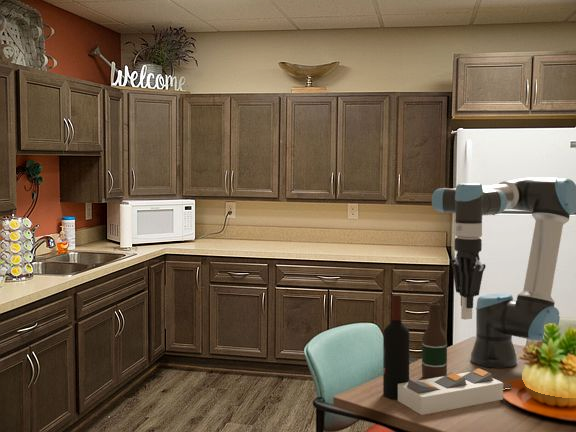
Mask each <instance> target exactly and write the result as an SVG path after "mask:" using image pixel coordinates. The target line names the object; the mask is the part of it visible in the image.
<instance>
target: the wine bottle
mask: <svg viewBox="0 0 576 432" xmlns="http://www.w3.org/2000/svg"><path fill="white" fill-rule="evenodd" d="M390 298H391V319H390V320H391V322H390V323H388V324H387V325H386V326H385V327H384V329H383V335H382V336H383V337H382V339H383V340H382V341H383V345H382V347H383V350H382V351H383V353H382V354H383V359H382V360H383V361H382V363H383V364H382V365H383V367H382V368H383V369H382V371H383V374H382V376H383V377H382V379H383V382H382V384H383V385H382V387H383V390H382V391H383V392H382V393H383V394H382V395H383V397H384V398H387V399H389V400H394V401H398V384H400V383H406V382H408V381H409V379H410V330H409V328H408V327H407V326H406V325H405V324H404V323H403V322H402V295H401V294H395V293H394V294H391V297H390Z"/></svg>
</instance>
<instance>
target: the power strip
mask: <svg viewBox="0 0 576 432" xmlns="http://www.w3.org/2000/svg"><path fill="white" fill-rule="evenodd" d="M470 372H471V371H469V372H468V371H467V372H461V373H456V374H457V375H459V376H461V377H462V376H464V375H466V374H468V373H470ZM442 377H444V376H442ZM442 377H436V378H430V379H425V378H424V379H420V380H417V381H420V382H426V383H429V384H431V385H433V386H435V387H437V389H439V390H437V391H431V392H425V393H418V392H416V391H414V390H412V389H410V388H408V387H407V385H408V382H406V383H400V384H398V400H397V402H399V403H400V404H401V405H402V404H403V405H404V406H405V407H408V408H409V409H411V411H412V410H413V411H414V412H416V413H417V414H419V415H421V416H424V415H431V414H434V413H441V412H446V411H450V410H455V409H461V408H465V407H472V406H477V405H482V404H488V403H491V402H492V403H493V402H498V401H502V400H504V391H503V389H505V388H511V387H512V388H513V386H512V384H506V385H505V384H504V382H502V381H500V380H498V379H496V378H493V377H492V378H493V381H488V382H482V383H476V384H474V383H471V382H469V381H467V380H465V381H466V385H465V386H459V387H454V388H448V389H447V388H445V387H443V386H441V385H439V384H437V383H435V381H437V380H439V379H440V378H442Z"/></svg>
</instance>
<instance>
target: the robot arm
mask: <svg viewBox="0 0 576 432" xmlns="http://www.w3.org/2000/svg"><path fill="white" fill-rule="evenodd" d="M431 206H432V207H433V208H432V209H434V211H436V212H437V213H439V212H440V213H444V214H446V213H447V214H449V213H451V214H454V215H455V219H454V223H455V224H454V236H455V238H454V251H456V254H455V255H456V256H455V258H452V259H450V263H451V266H452V272H453V273H452V274H453V279H454V287H455V292H456V293H458V294H459V295H460V306H461V313H460V315H461V316H460V317H461V319H462V320H472V319H473V308H474V297H476V296H479V295H480V291H481V285H482V280H483V274H484V271H485V269H486V267H487V266H486V263H482V262H481V261H480V260H481V259H480V255H479V253H480V252H482V245H483V243H482V241H483V240H482V239H481V237H482V236H483V216H495V215H498V214H501V213H503V212H504V211H505V210H516V211H523V212H531V217H533V219H534V220H535V223H534V228H533V234H532V239H531V246H530V252H529V257H528V263H527V268H526V272H525V279H524V285H523V289H522V291H521V292H520V293H517V297H516V300H514V297H513V295H512V294H509V293H493V294H484V295H481V296H479V297H478V298H477V299H476V300H477V301H476V307H475V310H476V314H475V315H476V317H475V318H476V321H475V322H476V323H475V324H476V325H475V326H476V328H475V329H476V330H475V331H476V332H475V335H476V337H475V341H474V344H473V347H472V351H471V352H470V362H472V363H473V364H475V365H478V366H481V367H486V368H495V369H498V368H499V369H503V368H504V369H505V368H510V367H514V366H516V365H517V363H518V356H517V354H516V350H515V346H514V344H513V339H512V338H513V337H517V338H521V339H526V340H531V341H532V342H533V341H534V342H537V341H538V342H541V341H540V340H543V334H544V325H545V324H548V323H555V324H556V325H558V326H559V324H560V311H559V309H558V308H557V307H555V300H554V299H553V297H552V290H553V285H554V279H555V273H556V269H557V268H556V267H557V262H558V257H559V251H560V245H561V244H560V243H561V240H562V239H561V238H562V235H563V234H562V233H563V228H564V227H563V226H564V225H565V224H566V223H568V222H569V221H570V215H574V214H576V183H575V181H573V180H572V179H570V178H564V177H563V178H561V177H524V178H517V179H512V180H507V181H506V180H505V181H500V182H499V183H498V184H490V185H482V184H481V183H458V184H456V187H455V188H451V187H449V188H447V187H443V188H437V189H435V191H433V194H432V195H431Z"/></svg>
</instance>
